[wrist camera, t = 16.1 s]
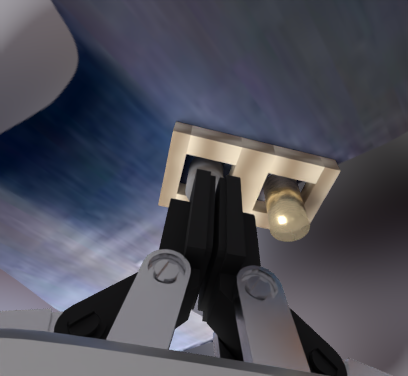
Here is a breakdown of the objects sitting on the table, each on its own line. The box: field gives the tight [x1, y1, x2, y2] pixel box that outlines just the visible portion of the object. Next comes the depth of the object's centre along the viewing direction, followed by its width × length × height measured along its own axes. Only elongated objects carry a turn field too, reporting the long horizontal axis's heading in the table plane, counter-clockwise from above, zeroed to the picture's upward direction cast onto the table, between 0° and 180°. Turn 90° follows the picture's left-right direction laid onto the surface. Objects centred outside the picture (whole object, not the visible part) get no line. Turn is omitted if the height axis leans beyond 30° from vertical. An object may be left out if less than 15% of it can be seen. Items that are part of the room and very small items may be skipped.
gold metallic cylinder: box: [263, 174, 310, 242], centre depth 39 cm, size 4×4×8 cm
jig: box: [158, 122, 340, 229], centre depth 40 cm, size 20×11×5 cm, turn 77°
